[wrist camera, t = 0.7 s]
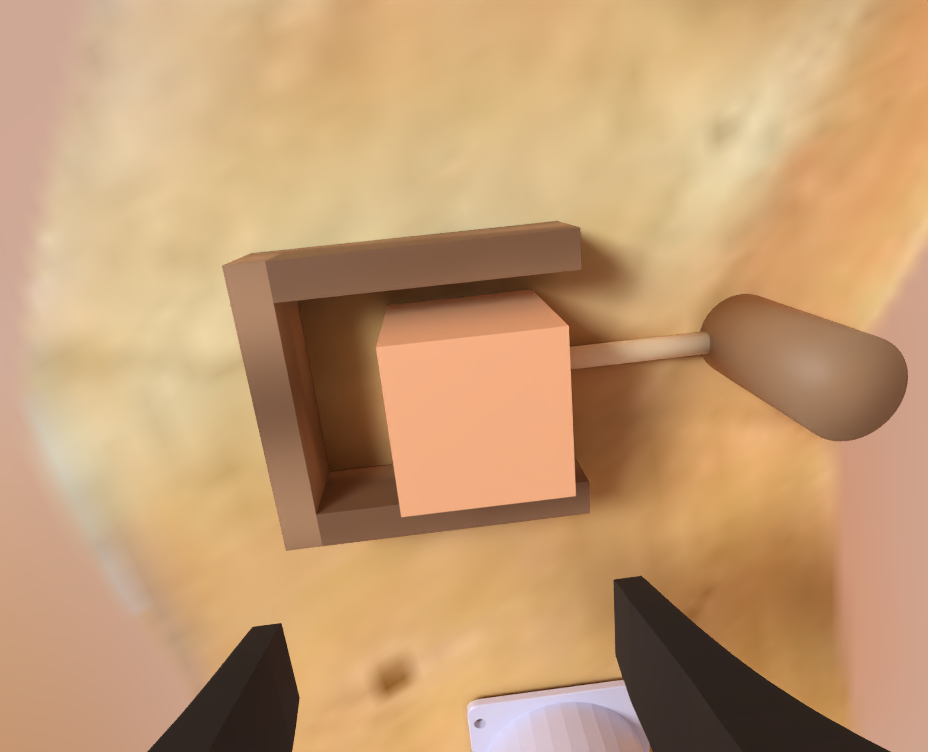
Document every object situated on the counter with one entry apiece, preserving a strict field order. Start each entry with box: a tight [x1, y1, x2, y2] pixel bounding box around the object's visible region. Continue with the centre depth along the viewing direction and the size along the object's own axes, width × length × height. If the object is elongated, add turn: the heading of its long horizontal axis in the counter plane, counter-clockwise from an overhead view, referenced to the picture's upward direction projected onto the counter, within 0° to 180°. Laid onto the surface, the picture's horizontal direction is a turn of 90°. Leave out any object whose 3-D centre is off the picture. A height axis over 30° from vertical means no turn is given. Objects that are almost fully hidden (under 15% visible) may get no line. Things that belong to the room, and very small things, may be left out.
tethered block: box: [376, 289, 908, 517], centre depth 19 cm, size 5×14×6 cm, turn 96°
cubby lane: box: [222, 221, 590, 551], centre depth 20 cm, size 9×10×3 cm
